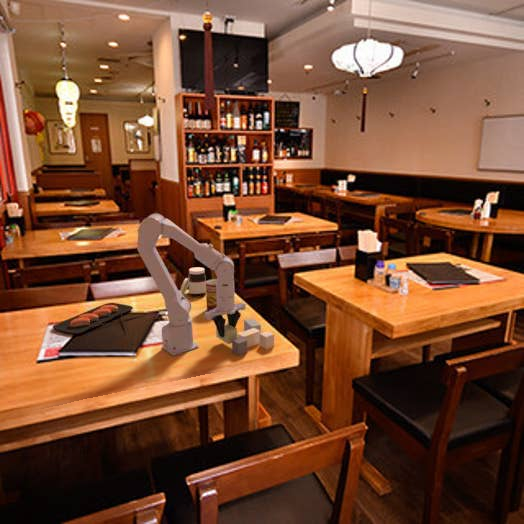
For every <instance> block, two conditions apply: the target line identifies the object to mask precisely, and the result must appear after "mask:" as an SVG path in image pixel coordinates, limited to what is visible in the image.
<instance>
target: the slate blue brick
mask: <svg viewBox="0 0 524 524" xmlns="http://www.w3.org/2000/svg"><path fill="white" fill-rule="evenodd" d="M252 328H255V329H257V330H259V331H260V333H262V330H261V329H262V325H261V323H259V322H258V321H257V320H256V319H255V318H254V317H249V318H245V319H243V331H246V330H249V329H252Z"/></svg>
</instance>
